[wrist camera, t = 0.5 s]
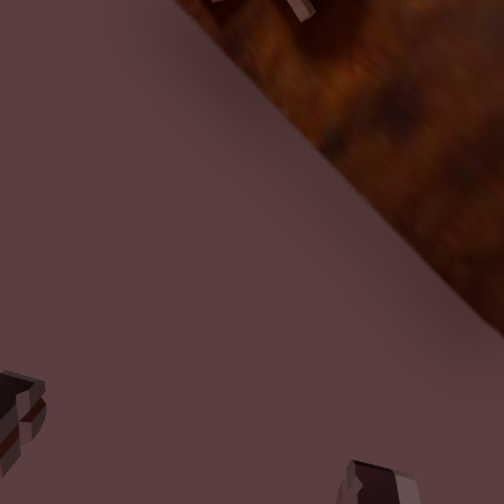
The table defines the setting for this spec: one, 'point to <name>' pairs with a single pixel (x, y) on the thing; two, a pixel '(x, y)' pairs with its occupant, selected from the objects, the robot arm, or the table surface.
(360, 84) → the table surface
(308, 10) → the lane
